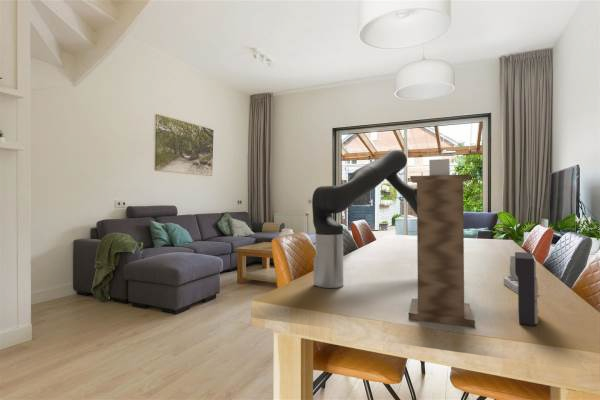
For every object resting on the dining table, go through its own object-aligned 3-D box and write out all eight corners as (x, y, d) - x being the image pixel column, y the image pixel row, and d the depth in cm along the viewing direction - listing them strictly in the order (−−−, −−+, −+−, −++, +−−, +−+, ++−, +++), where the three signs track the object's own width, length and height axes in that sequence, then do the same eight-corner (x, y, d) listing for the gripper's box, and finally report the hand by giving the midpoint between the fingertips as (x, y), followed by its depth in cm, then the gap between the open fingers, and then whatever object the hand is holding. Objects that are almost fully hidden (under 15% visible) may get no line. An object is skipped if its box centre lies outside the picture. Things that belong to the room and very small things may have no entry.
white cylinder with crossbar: (430, 180, 101) (430, 168, 101) (446, 180, 99) (446, 167, 99) (429, 175, 81) (429, 159, 81) (449, 175, 80) (449, 158, 80)
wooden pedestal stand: (408, 319, 80) (407, 175, 81) (412, 303, 93) (411, 179, 93) (474, 326, 75) (473, 173, 75) (468, 309, 88) (467, 177, 88)
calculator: (539, 327, 75) (538, 259, 75) (515, 323, 77) (515, 257, 77) (536, 313, 84) (535, 252, 84) (515, 310, 86) (514, 251, 87)
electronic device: (519, 264, 101) (501, 254, 115) (519, 296, 101) (501, 283, 116) (539, 264, 100) (519, 255, 114) (539, 298, 100) (518, 284, 114)
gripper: (416, 199, 126) (414, 174, 112) (458, 198, 120) (461, 173, 107) (416, 217, 122) (413, 194, 109) (459, 217, 117) (463, 193, 104)
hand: (437, 183), depth 108 cm, fingers open, 8 cm apart
